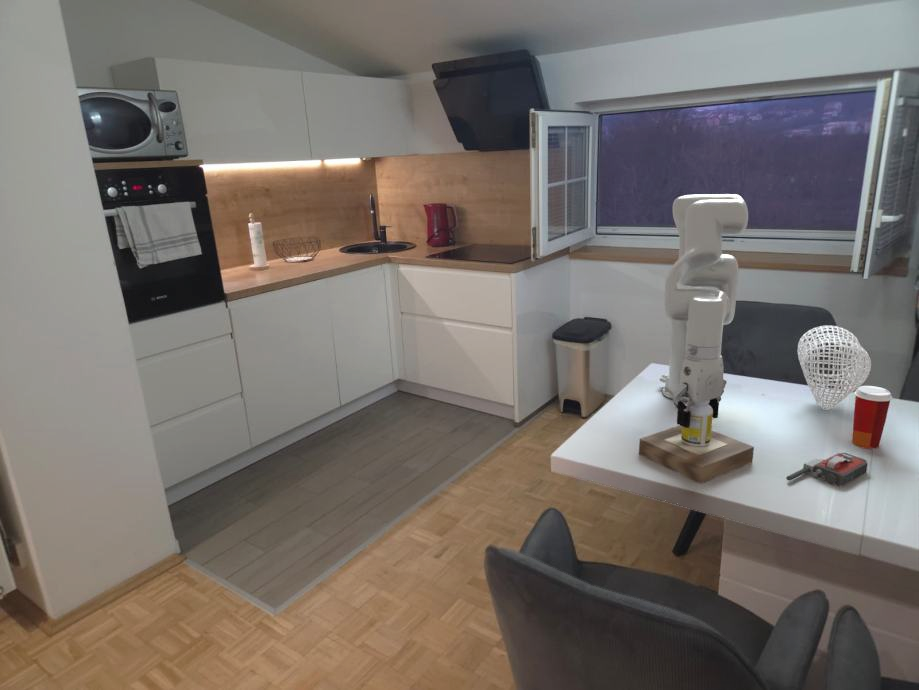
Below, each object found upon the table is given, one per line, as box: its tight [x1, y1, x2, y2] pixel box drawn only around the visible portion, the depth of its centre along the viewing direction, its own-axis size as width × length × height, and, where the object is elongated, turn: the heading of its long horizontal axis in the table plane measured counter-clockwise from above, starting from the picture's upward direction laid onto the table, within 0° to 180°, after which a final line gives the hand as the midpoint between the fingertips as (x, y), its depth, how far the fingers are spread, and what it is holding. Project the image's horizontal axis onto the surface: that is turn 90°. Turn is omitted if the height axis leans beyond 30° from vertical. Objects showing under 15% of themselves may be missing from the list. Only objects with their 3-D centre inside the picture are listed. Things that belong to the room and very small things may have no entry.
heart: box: [797, 324, 872, 411], centre depth 173 cm, size 28×16×22 cm, turn 158°
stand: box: [638, 425, 755, 484], centre depth 150 cm, size 18×18×4 cm
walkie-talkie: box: [786, 452, 869, 487], centre depth 140 cm, size 9×4×20 cm
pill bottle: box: [681, 396, 713, 446], centre depth 147 cm, size 6×6×12 cm
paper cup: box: [851, 385, 893, 450], centre depth 153 cm, size 8×8×14 cm
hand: (697, 421), depth 148 cm, fingers open, 9 cm apart
